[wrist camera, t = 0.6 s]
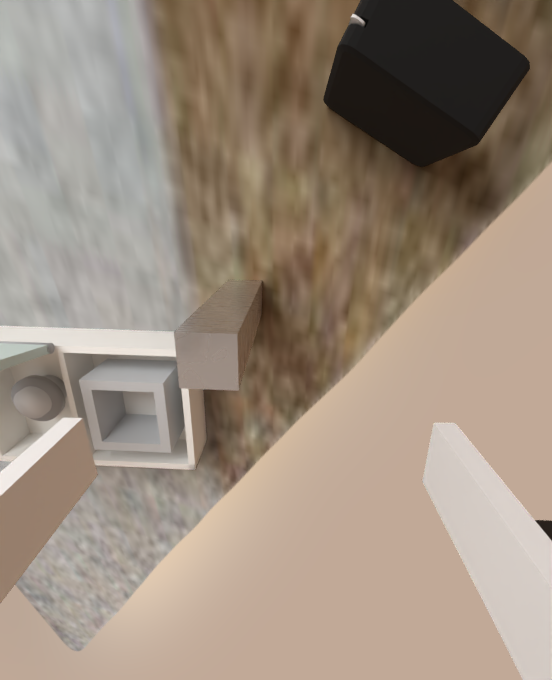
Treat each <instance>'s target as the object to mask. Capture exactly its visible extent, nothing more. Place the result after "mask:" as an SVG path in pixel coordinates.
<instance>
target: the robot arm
mask: <svg viewBox="0 0 552 680" xmlns="http://www.w3.org/2000/svg"><path fill="white" fill-rule="evenodd" d="M97 475H98V474H97V470H96V466H95V462H94V459H93V455H92V451H91V447H90V444H89V440H88V436H87V433H86V429H85V425H84V421H83V418H62V419H61V420H60V421H59V422H58V423H56V424H55V425H54V426H53V427H52V428H51V429H50V430H48V431H47V432H46V433H45V434H44V435H43V436H41V437H40V438H39V439H38V440H37V441H36V442H35V443H33V444H32V445H31V446H30V447H29V448H28V449H26V450H25V451H24V452H23V453H22V454H21V455H20V456H18V457H17V458H16V459H15V460H14V461H13V462H11V463H10V464H9V465H8V466H7V467H6V468H5V469H3V470H2V471H1V472H0V603H1V602H2V601H3V599H4V598H5V597H6V595H7V594H8V593H9V591H10V590H11V589H12V588H13V586H14V585H15V584H16V582H17V581H18V580H19V578H20V577H21V576H22V574H23V573H24V572H25V570H26V569H27V568H28V566H29V565H30V564H31V562H32V561H33V560H34V558H35V557H36V556H37V555H38V553H39V552H40V551H41V549H42V548H43V547H44V545H45V544H46V543H47V541H48V540H49V539H50V537H51V536H52V535H53V533H54V532H55V531H56V529H57V528H58V527H59V525H60V524H61V523H62V521H63V520H64V519H65V518H66V516H67V515H68V514H69V512H70V511H71V510H72V508H73V507H74V506H75V504H76V503H77V502H78V500H79V499H80V498H81V496H82V495H83V494H84V492H85V491H86V490H87V488H88V487H89V486H90V484H91V483H92V482H93V481H94V479H95V478H96V477H97ZM422 482H423V484H424V486H425V488H426V490H427V492H428V494H429V496H430V498H431V499H432V502H433V504H434V506H435V508H436V510H437V512H438V513H439V515H440V518H441V519H442V521H443V523H444V525H445V527H446V529H447V531H448V533H449V535H450V537H451V539H452V541H453V543H454V545H455V547H456V549H457V551H458V553H459V555H460V557H461V559H462V561H463V563H464V565H465V567H466V569H467V571H468V573H469V574H470V576H471V579H472V581H473V583H474V584H475V586H476V588H477V590H478V592H479V594H480V596H481V598H482V600H483V602H484V604H485V606H486V608H487V610H488V612H489V614H490V616H491V618H492V620H493V622H494V624H495V626H496V628H497V630H498V632H499V634H500V636H501V638H502V640H503V641H504V644H505V646H506V648H507V649H508V651H509V653H510V655H511V657H512V659H513V661H514V663H515V665H516V667H517V669H518V671H519V673H520V675H521V677H522V679H523V680H552V521H543V520H534V519H533V517H532V516H531V515H530V514H529V513H528V511H527V510H526V509H525V508H524V506H523V505H522V504H521V503H520V502H519V500H518V499H517V498H516V497H515V496H514V494H513V493H512V492H511V491H510V489H509V488H508V487H507V486H506V484H505V483H504V482H503V481H502V480H501V478H500V477H499V476H498V475H497V473H496V472H495V471H494V470H493V469H492V467H491V466H490V465H489V464H488V463H487V461H486V460H485V459H484V458H483V456H482V455H481V454H480V453H479V451H478V450H477V449H476V448H475V447H474V445H473V444H472V443H471V442H470V440H469V439H468V438H467V437H466V436H465V434H464V433H463V432H462V431H461V429H460V428H459V427H458V426H457V425H456V423H433V428H432V433H431V439H430V444H429V449H428V454H427V460H426V465H425V470H424V476H423V481H422Z"/></svg>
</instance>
